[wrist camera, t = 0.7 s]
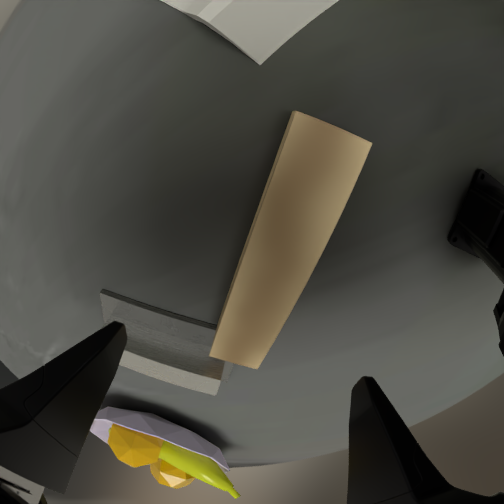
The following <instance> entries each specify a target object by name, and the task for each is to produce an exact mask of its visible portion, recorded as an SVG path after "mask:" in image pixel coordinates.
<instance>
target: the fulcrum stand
mask: <svg viewBox="0 0 504 504" xmlns="http://www.w3.org/2000/svg"><path fill="white" fill-rule="evenodd" d="M100 298H101V304H102V311H103V317H104V322H105V324H104V325H103V327H105V326H106V325H108V324H110V323H111V322H113V321H118V322H121V323H123V324H124V325H125V327H126V332H127V344H126V347H125V349H124V352H123V355H122V357H121V360H120V363H119V365H122V366H124V367H127V368H129V369H132V370H134V371H137V372H140V373H142V374H145V375H148V376H151V377H154V378H157V379H160V380H163V381H166V382H169V383H172V384H175V385H179V386H182V387H185V388H189V389H192V390H196V391H200V392H203V393H207V394H211V395H215V396H216V394H217V391H218V388H219V385H220V382H221V381H223V382H227V381H228V378H229V376H230V373H231V370H232V368H233V365H234V363H231V362H228V361H224V360H221V359H217V358H214V357H211V356H209V354H210V350H211V347H212V343H213V339H214V335H215V332H216V328H217V326H216V325H213V324H209V323H205V322H202V321H198V320H195V319H191V318H188V317H185V316H181V315H178V314H175V313H171V312H168V311H165V310H162V309H159V308H156V307H153V306H150V305H147V304H144V303H141V302H138V301H135V300H132V299H129V298H126V297H123V296H121V295H118V294H115V293H112V292H110V291H107V290H104V289H102V290H101V292H100ZM103 327H102V328H103ZM102 328H101V329H102Z"/></svg>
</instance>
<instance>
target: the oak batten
mask: <svg viewBox="0 0 504 504" xmlns="http://www.w3.org/2000/svg"><path fill="white" fill-rule="evenodd" d="M371 145H372V143H371V142H369V141H366V140H364V139H362V138H360V137H358V136H356V135H354V134H352V133H349V132H347V131H345V130H343V129H341V128H338V127H336V126H334V125H331V124H329V123H326V122H324V121H321V120H319V119H316V118H314V117H311V116H309V115H306V114H303V113H301V112H298V111H292V114H291V117H290V119H289V122H288V125H287V128H286V130H285V133H284V136H283V139H282V141H281V144H280V147H279V150H278V153H277V155H276V158H275V161H274V164H273V167H272V169H271V172H270V175H269V178H268V181H267V183H266V186H265V189H264V192H263V195H262V197H261V200H260V203H259V206H258V209H257V212H256V214H255V217H254V220H253V223H252V226H251V229H250V232H249V234H248V237H247V240H246V243H245V246H244V249H243V252H242V255H241V257H240V260H239V263H238V266H237V269H236V272H235V275H234V278H233V281H232V283H231V286H230V289H229V292H228V295H227V298H226V301H225V304H224V307H223V310H222V313H221V316H220V318H219V321H218V324H217V328H216V332H215V335H214V339H213V343H212V347H211V350H210V354H209V356H211V357H214V358H217V359H221V360H224V361H228V362H231V363H235V364H239V365H242V366H246V367H250V368H254V369H258V367H259V366H260V364H261V362H262V361H263V359H264V357H265V356H266V354H267V352H268V351H269V349H270V347H271V346H272V344H273V342H274V341H275V339H276V337H277V335H278V334H279V332H280V330H281V329H282V327H283V325H284V323H285V322H286V320H287V318H288V316H289V314H290V313H291V311H292V309H293V307H294V305H295V304H296V302H297V300H298V298H299V296H300V294H301V293H302V291H303V289H304V287H305V285H306V283H307V281H308V280H309V278H310V276H311V274H312V272H313V270H314V268H315V266H316V264H317V262H318V260H319V258H320V256H321V254H322V252H323V250H324V248H325V246H326V244H327V242H328V240H329V238H330V236H331V234H332V232H333V230H334V228H335V226H336V224H337V222H338V220H339V218H340V216H341V214H342V211H343V209H344V207H345V205H346V203H347V201H348V198H349V196H350V194H351V192H352V190H353V187H354V185H355V183H356V181H357V178H358V176H359V174H360V171H361V169H362V167H363V165H364V162H365V160H366V157H367V155H368V153H369V150H370V148H371Z"/></svg>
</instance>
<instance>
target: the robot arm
mask: <svg viewBox="0 0 504 504" xmlns="http://www.w3.org/2000/svg"><path fill="white" fill-rule="evenodd" d="M481 174H482V176H481ZM480 176H481V178H480ZM454 237H455V238H454ZM453 238H454V239H453ZM448 241H449V242H450V244H452V245H453V246H455V247H458V248H460V249H462V250H464V251H466V252H468V253H470V254H472V255H474V256H476V257H478V258H480V259H482V260H483V261H484V262H485V263H486V265H487V266H488V267H489V268H490V269H491V270H492V271H493V272H494V273H495V274H496V276H497V277H498V278H499V279H500V280H501V281H502V283H503V284H504V186H503V185H501V184H500V183H499V182H498V181H497V180H496V179H494V178H493V177H492V176H491V175H489V174H488V173H487V172H485V171H484V170H482V169H478V170H477V171H476V173H475V176H474V179H473V181H472V184H471V186H470V189H469V191H468V194H467V196H466V199H465V201H464V203H463V206H462V208H461V210H460V213H459V215H458V217H457V219H456V221H455V223H454V225H453V228H452V230H451V232H450V234H449V236H448ZM493 312H494V315H495V318H496V322H497V325H498V330H499V336H500V342H499V348H500V350H501V352H502V354H503V356H504V289H503V291H502V294H501V296H500V299H499V301H498V304H496V306H495V308H494V310H493ZM126 344H127V332H126V327H125V325H124V324H123V323H121V322H118V321H113V322H111V323H110V324H108V325H106V326H105V327H103V328H102V329H100V330H98V331H97V332H95V333H94V334H92V335H91V336H89V337H87V338H86V339H84V340H83V341H81V342H79V343H78V344H76V345H75V346H73V347H72V348H70V349H68V350H67V351H65V352H64V353H62V354H61V355H59V356H57V357H56V358H54V359H53V360H51V361H50V362H48V363H46V364H45V366H42V367H40V368H39V369H37V370H35V371H34V372H32V373H30V374H29V375H27V376H25V377H23V378H21V379H20V380H18V381H16V382H14V383H12V384H9V385H7V386H5V387H3V388H1V389H0V504H47V502H46V499H45V497H44V495H43V490H44V487H46V488H48V489H51V490H53V491H56V492H59V493H62V494H64V493H65V492H66V489H67V486H68V483H69V481H70V478H71V475H72V472H73V470H74V467H75V464H76V462H77V460H78V457H79V454H80V452H81V449H82V447H83V445H84V442H85V440H86V437H87V435H88V433H89V431H90V428H91V426H92V424H93V421H94V419H95V417H96V415H97V413H98V410H99V408H100V406H101V404H102V402H103V400H104V398H105V395H106V393H107V391H108V389H109V387H110V385H111V383H112V381H113V379H114V377H115V374H116V371H117V369H118V366H119V363H120V360H121V357H122V355H123V352H124V349H125V347H126ZM347 504H504V493H503V492H498V493H496V494H494V495H492V496H490V497H488V496H483V495H479V494H475V493H472V492H468V491H465V490H461V489H459V488H456V487H454V486H452V485H451V484H449V483H448V482H447V481H446V480H445V478H444V477H443V476H442V475H441V474H440V472H439V471H438V470H437V469H436V467H435V466H434V465H433V464H432V462H431V461H430V460H429V458H428V457H427V456H426V454H425V453H424V451H423V450H422V449H421V447H420V445H419V444H418V443H417V441H416V440H415V438H414V436H413V435H412V434H411V432H410V430H409V429H408V427H407V426H406V424H405V423H404V421H403V420H402V418H401V417H400V416H399V414H398V413H397V411H396V410H395V408H394V407H393V405H392V404H391V402H390V401H389V399H388V398H387V397H386V395H385V394H384V392H383V391H382V389H381V388H380V386H379V385H378V384H377V382H376V381H375V379H374V378H373V377H369V376H363V377H362V378H361V379H360V380H359V381H358V382H357V383H356V384H355V386H354V387H353V389H352V393H351V407H350V418H349V473H348V494H347Z"/></svg>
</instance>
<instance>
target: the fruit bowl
mask: <svg viewBox="0 0 504 504" xmlns="http://www.w3.org/2000/svg"><path fill="white" fill-rule="evenodd" d="M90 431H91V432H92V433H93V434H95V435H96V436H98V437H99V438H100V439H102V440H103V441H104V442H106V443H107V444H109V446H110V447H111V449H112V450H113V452H114V453H115V455H116V457H117V458H118V459H119V460H120V461H122V462H124V463H126V464H127V465H129V466H131V467H139V466H143V465H146V464H149V465H150V468H151V473H152V475H153V476H154V477H155V479H156V480H157V481H158V483H160V484H163V485H166V486H169V487H172V488H175V489H178V488H181V487H184V486H186V485H189V484H191V483H192V482H193V480H194V479H195V478H197V479H199V480H202V481H203V482H206V483H208V484H210V485H212V486H214V487H217V488H219V489H221V490H224V491H228V492H229V493H230V494H231V495H232V496H233V497H234V498H235V499H237V498H238V497H240V494H239V493H238V492H236V490H234V488H233V484H232V483H231V482H230V480H229V479H228V478H227V476H226V475H225V474H224V473H226V472H228V471H230V469H229V467H228V465H227V463H226V461H225V459H224V457H223V454H222V452H221V450H220V448H218V447H217V446H215V445H213V444H212V443H210V442H209V441H207V440H205V439H204V438H202V437H201V436H199V435H198V434H196V433H195V432H192V431H190V430H188V429H186V428H183V427H181V426H179V425H176V424H174V423H172V422H170V421H168V420H165V419H163V418H161V417H159V416H157V415H155V414H153V413H147V412H139V411H132V410H126V409H120V408H114V407H109V406H108V407H106V408H104V409H102V410H100V411H98V413H97V415H96V417H95V419H94V421H93V424H92V426H91V428H90Z"/></svg>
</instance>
